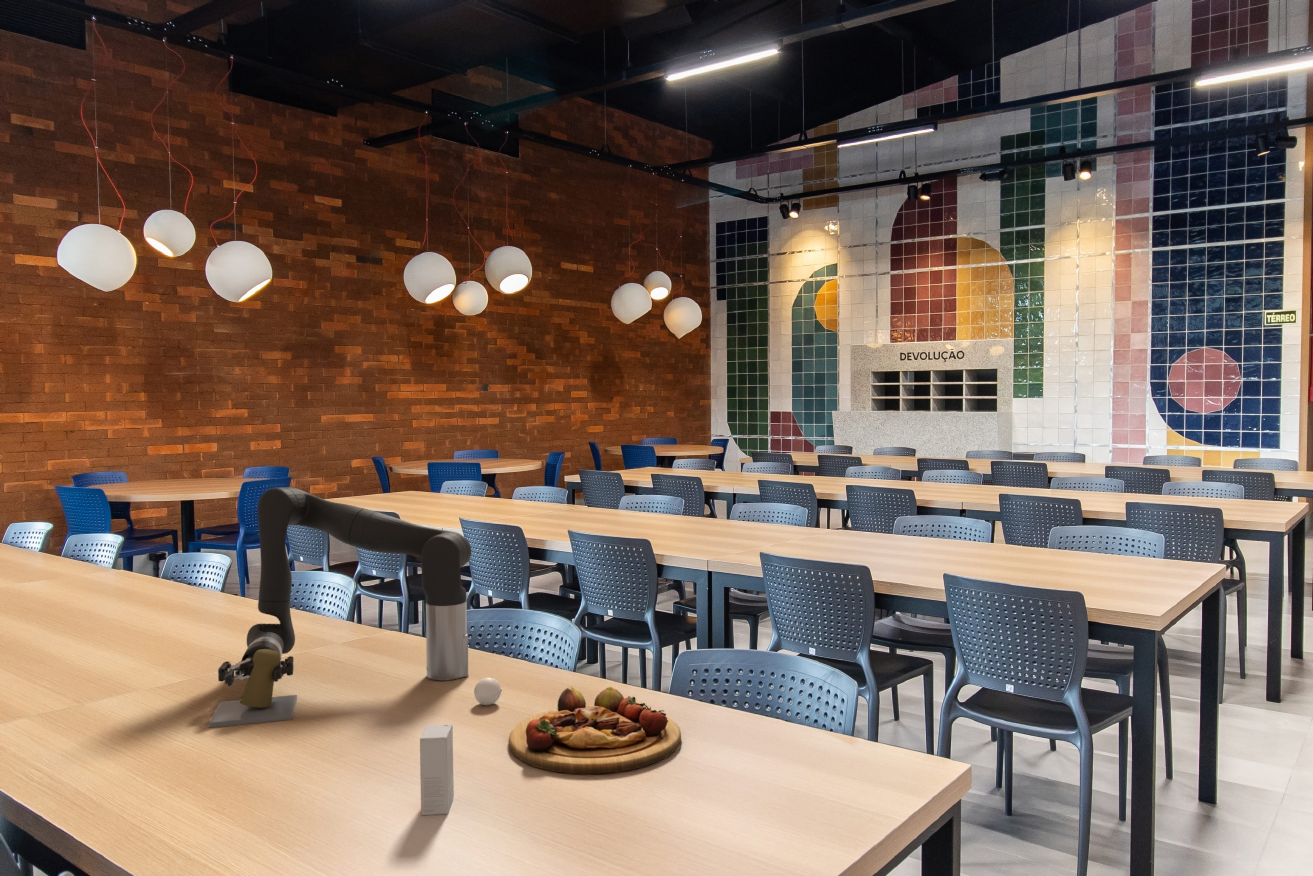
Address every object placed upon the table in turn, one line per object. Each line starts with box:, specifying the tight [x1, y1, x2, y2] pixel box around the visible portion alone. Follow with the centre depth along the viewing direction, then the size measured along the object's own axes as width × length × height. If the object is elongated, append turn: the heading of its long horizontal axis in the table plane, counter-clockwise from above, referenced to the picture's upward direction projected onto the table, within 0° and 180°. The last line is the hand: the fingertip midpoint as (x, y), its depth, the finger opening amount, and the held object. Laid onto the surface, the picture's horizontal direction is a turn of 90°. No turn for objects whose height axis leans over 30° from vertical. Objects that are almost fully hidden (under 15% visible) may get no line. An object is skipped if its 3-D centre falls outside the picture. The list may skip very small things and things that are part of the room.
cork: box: [239, 649, 280, 708], centre depth 181 cm, size 6×6×11 cm
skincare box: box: [419, 723, 455, 816], centre depth 137 cm, size 6×4×12 cm
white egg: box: [473, 677, 502, 706], centre depth 186 cm, size 8×6×6 cm
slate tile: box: [208, 694, 298, 728], centre depth 180 cm, size 15×13×1 cm
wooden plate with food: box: [508, 686, 682, 775], centre depth 164 cm, size 32×32×8 cm
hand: (252, 678), depth 178 cm, fingers open, 8 cm apart
